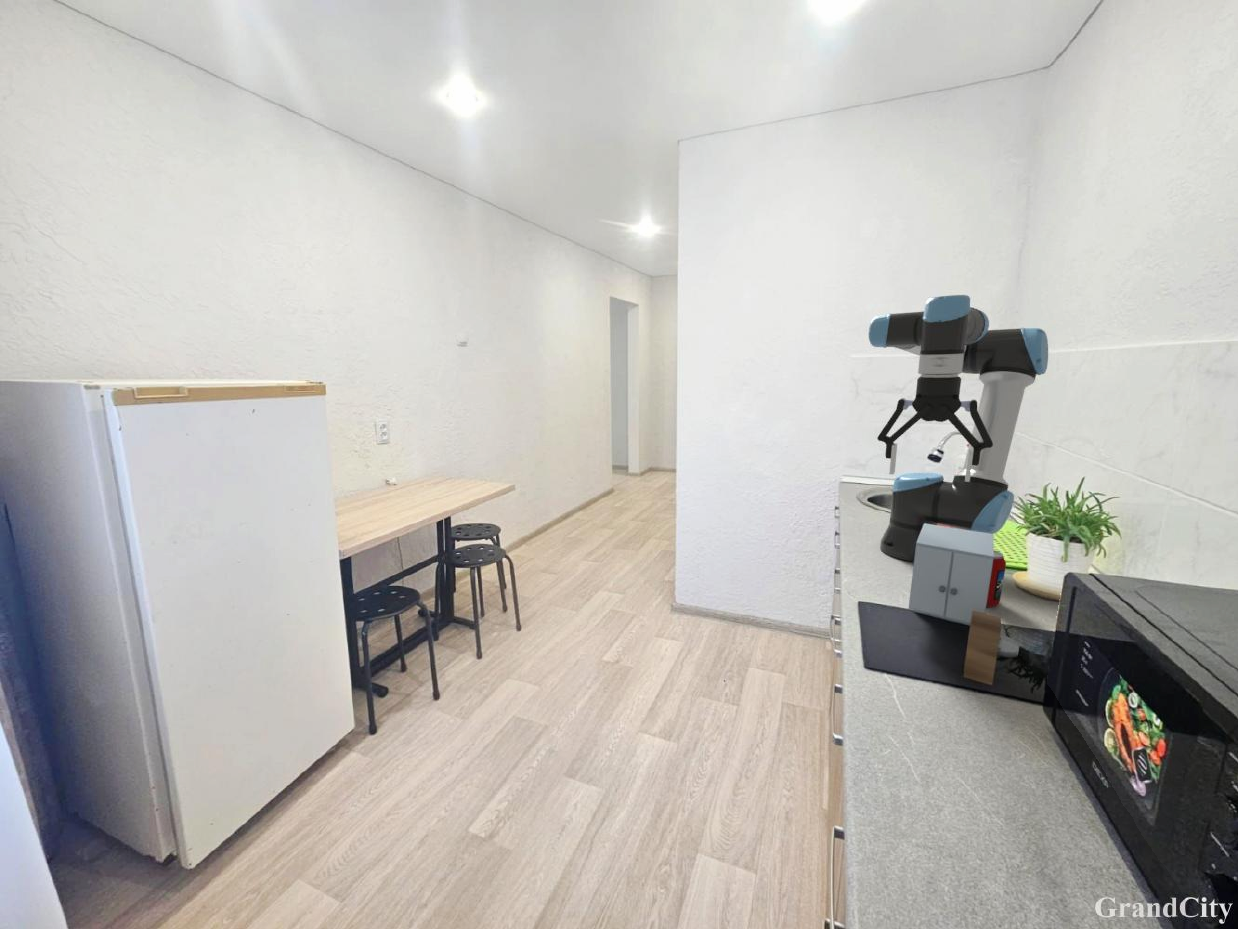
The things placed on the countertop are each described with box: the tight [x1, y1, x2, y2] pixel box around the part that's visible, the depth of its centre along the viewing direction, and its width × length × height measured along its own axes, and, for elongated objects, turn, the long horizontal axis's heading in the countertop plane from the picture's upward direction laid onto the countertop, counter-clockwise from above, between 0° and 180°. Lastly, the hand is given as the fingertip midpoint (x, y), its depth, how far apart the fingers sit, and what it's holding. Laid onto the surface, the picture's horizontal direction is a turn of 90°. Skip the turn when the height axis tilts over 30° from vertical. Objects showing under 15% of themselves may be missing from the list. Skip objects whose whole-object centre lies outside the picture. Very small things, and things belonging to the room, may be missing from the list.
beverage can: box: [986, 549, 1007, 608], centre depth 110 cm, size 7×7×12 cm
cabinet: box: [908, 523, 995, 627], centre depth 98 cm, size 15×12×20 cm
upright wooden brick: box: [963, 611, 1002, 686], centre depth 90 cm, size 17×4×11 cm, turn 144°
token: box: [997, 634, 1020, 658], centre depth 93 cm, size 5×5×2 cm
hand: (928, 476), depth 104 cm, fingers open, 13 cm apart
